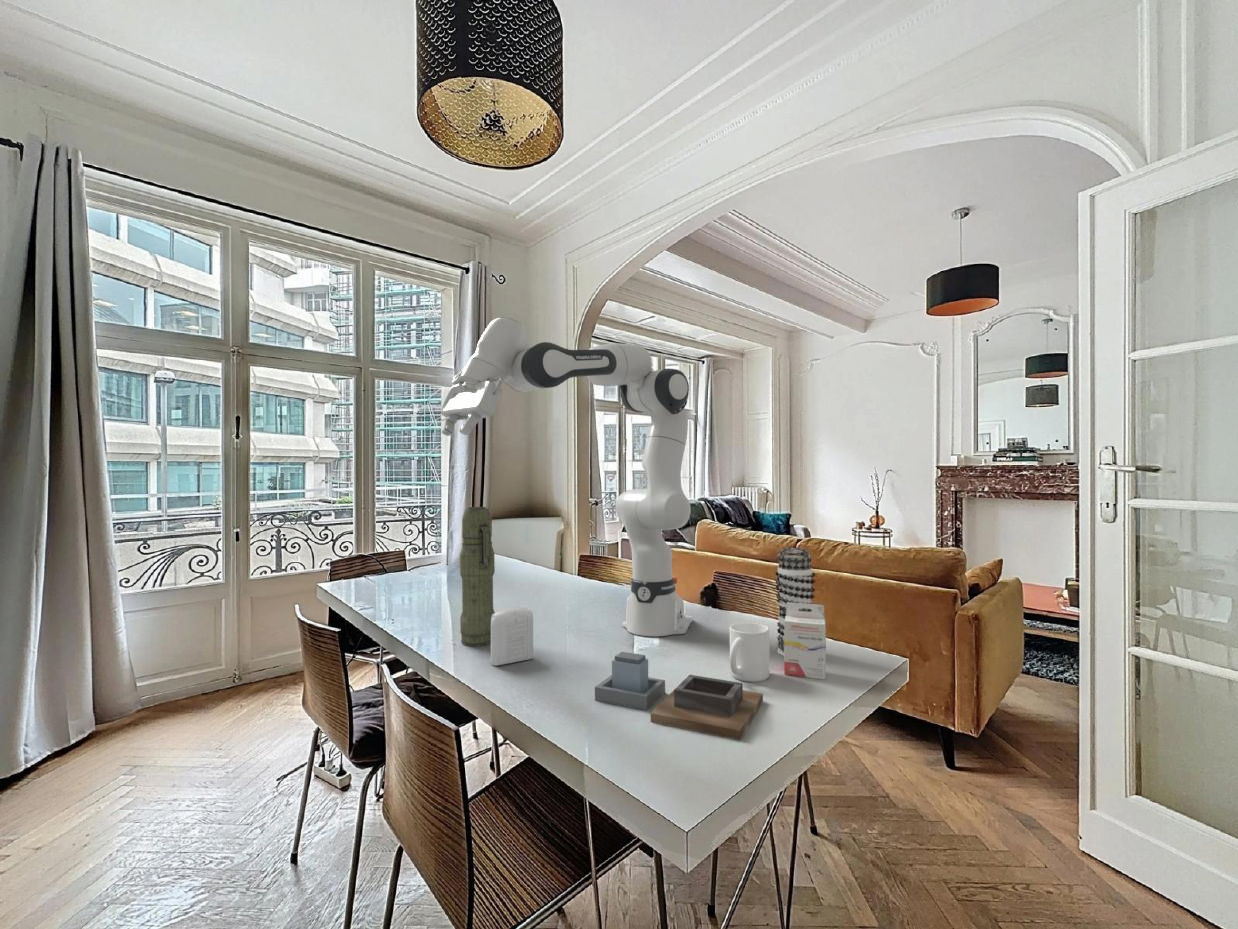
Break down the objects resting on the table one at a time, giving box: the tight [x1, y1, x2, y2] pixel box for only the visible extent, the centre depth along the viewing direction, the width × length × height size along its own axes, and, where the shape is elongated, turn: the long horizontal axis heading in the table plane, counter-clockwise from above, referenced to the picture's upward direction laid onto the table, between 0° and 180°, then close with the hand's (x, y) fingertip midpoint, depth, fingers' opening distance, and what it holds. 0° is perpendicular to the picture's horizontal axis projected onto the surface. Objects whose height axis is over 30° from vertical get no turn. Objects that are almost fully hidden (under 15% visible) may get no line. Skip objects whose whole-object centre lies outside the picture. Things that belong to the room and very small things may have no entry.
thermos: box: [459, 506, 496, 647], centre depth 149 cm, size 9×12×35 cm
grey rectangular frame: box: [594, 674, 666, 711], centre depth 112 cm, size 9×11×2 cm
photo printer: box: [490, 606, 534, 666], centre depth 133 cm, size 10×4×12 cm, turn 123°
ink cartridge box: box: [783, 602, 827, 680], centre depth 123 cm, size 9×5×15 cm, turn 71°
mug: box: [729, 622, 771, 683], centre depth 120 cm, size 12×8×10 cm
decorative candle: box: [775, 547, 816, 657], centre depth 136 cm, size 9×9×25 cm
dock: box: [650, 674, 764, 741], centre depth 104 cm, size 17×16×4 cm
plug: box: [611, 651, 649, 694], centre depth 112 cm, size 4×6×8 cm, turn 63°
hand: (454, 434), depth 124 cm, fingers open, 8 cm apart
